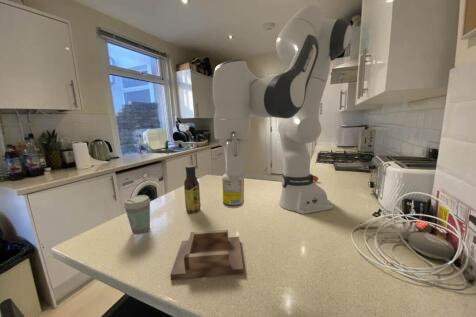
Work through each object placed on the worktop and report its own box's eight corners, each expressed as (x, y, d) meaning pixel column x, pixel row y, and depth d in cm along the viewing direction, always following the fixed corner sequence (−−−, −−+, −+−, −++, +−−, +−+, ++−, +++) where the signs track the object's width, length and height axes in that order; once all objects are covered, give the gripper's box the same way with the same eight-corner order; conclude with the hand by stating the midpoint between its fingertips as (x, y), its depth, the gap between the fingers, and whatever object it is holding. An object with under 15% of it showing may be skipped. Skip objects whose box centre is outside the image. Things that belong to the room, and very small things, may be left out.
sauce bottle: (197, 215, 83) (193, 168, 79) (183, 214, 84) (179, 168, 80) (203, 208, 89) (200, 164, 85) (190, 207, 90) (186, 164, 87)
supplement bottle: (232, 199, 57) (232, 164, 55) (247, 204, 54) (248, 167, 52) (218, 205, 53) (217, 167, 51) (234, 211, 49) (234, 171, 47)
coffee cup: (129, 227, 75) (124, 197, 73) (153, 222, 78) (150, 193, 76) (126, 239, 67) (121, 206, 65) (154, 232, 71) (149, 201, 68)
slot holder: (239, 240, 64) (238, 226, 63) (243, 273, 51) (242, 256, 50) (182, 245, 63) (180, 230, 62) (170, 279, 49) (168, 262, 48)
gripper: (251, 133, 40) (251, 199, 42) (240, 129, 60) (241, 173, 62) (219, 134, 39) (221, 201, 42) (219, 129, 59) (221, 174, 62)
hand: (233, 184), depth 52 cm, fingers closed on supplement bottle, 6 cm apart
